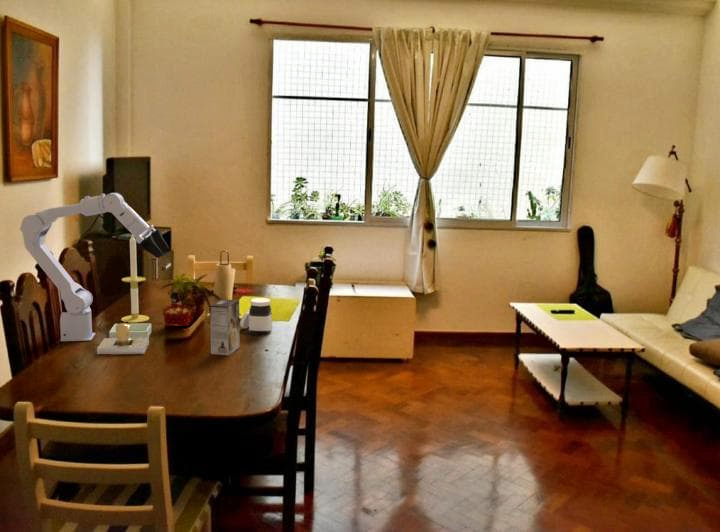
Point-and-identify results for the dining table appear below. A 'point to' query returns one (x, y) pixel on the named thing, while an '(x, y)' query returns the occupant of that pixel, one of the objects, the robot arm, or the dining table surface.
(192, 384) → the dining table surface
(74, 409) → the dining table surface
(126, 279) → the candle
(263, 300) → the spread jar
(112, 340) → the block
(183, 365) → the dining table surface
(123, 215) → the robot arm
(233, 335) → the coffee box
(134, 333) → the tray
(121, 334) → the pin
